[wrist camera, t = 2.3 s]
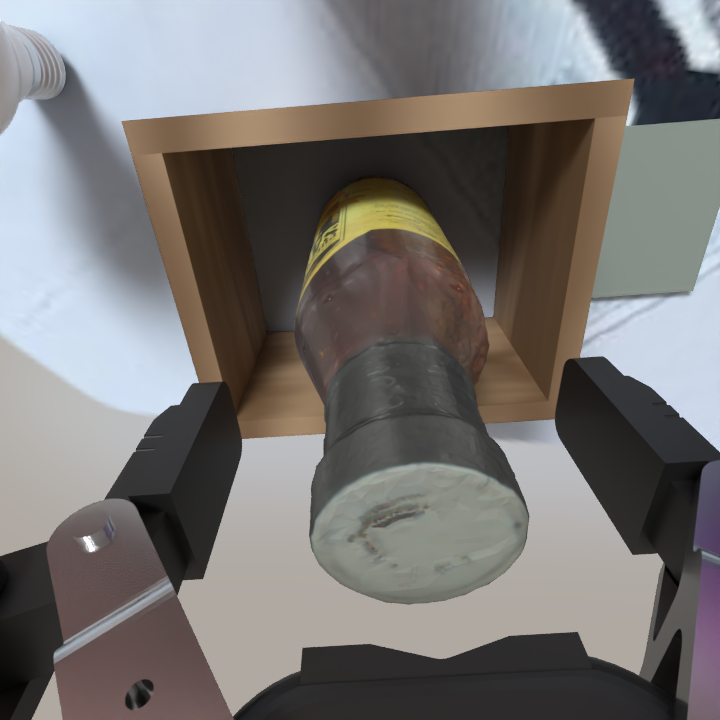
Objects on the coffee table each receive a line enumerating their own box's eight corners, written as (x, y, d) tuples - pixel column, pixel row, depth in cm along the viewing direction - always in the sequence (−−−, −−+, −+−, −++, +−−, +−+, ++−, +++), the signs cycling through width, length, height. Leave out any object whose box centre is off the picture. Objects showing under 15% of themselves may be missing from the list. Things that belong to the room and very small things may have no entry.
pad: (741, 117, 22) (747, 117, 22) (688, 288, 27) (693, 290, 26) (558, 131, 22) (561, 132, 22) (536, 299, 27) (538, 301, 27)
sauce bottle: (316, 171, 23) (207, 363, 6) (436, 173, 23) (664, 367, 6) (320, 290, 27) (256, 635, 9) (425, 291, 27) (554, 635, 9)
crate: (533, 87, 22) (634, 78, 14) (508, 330, 28) (567, 418, 20) (204, 115, 22) (121, 121, 14) (254, 347, 28) (216, 440, 21)
